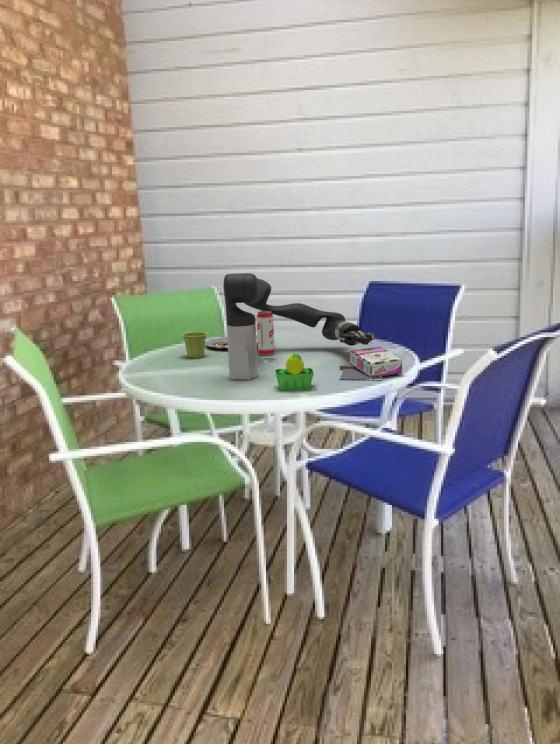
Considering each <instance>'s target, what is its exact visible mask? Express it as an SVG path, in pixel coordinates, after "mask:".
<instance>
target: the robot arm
mask: <svg viewBox="0 0 560 744" xmlns="http://www.w3.org/2000/svg"><path fill="white" fill-rule="evenodd" d="M222 286H223V294H224V295H223V297H224V304H225V305H224V307H225V317H226V319H225V320H226V332H227V333H226V337H227V339H228V348H227V355H228V356H227V358H228V369H229V371H228V372H229V378H230V380H235V381H236V380H243V381H245V380H252V379H255V378H257V377H258V376H259V370H258V368H259V367H258V365H259V364H258V345H257V344H256V336H257V320H256V316H255V314H253V313H252V312H248V311H246V310H243V309H241V308H240V307H239V306H237V304H242V303H243V304H244V305H246V306H248V307H250V308H252V309H255V310H258V311H271V313H272V315H273V316H278V317H281V318H286V319H289V320H293V321H295V322H298V323H300V324H303V325H305V326H308V327H310V328H316V327H317V326H318V324H319V323H320V321H321V320H322V319H325V321H324V324H323V326H322V330H321V334H322V336H323V337H324V339H327V340H329V341H337V340H338V341H339V342H340V343H343V344H345V345H347V346H351V347H352V346H356V345H358V344H361V345H362V346H363V345H364V346H365V345H366V346H367V345H369V344H370V342H373V340H375V337H374V336H375V332H373V331H370V332H368V333H367V332H364V331H363V330H362V328H361V327H360V326H358V325H357V324H354V323H352V322H350V321H346V317H345V316H344V315H343V314H341V313H339V312H335V311H324V310H321V309H317V308H316V307H315V308H314V307H312V306H309V305H307V304H304V303H301V302H299V303H298V302H297V303H289V304H281V305H272V304H268V303H267V302H268V300H269V297H270V296H271V292H272V286H271V284H270V283H269V282H267V281H265V280H264V279H261V278H258V277H257V276H256V275H255V274H254V273H252V272H251V273H250V272H246V273H244V272H242V273H227V274H225V275H224V277H223V285H222Z"/></svg>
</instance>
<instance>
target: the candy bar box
mask: <svg viewBox="0 0 560 744" xmlns="http://www.w3.org/2000/svg"><path fill="white" fill-rule="evenodd" d="M349 364H350V366H354V367H356V368H357V369H359V370H360V371H362V372H363V373H365V374H366V375H368V376H369V377H370V378H372V377H378V376H383V377H384V376H391V375H396V374H402V373H403V358H400V357H399V356H397V355H395V354H394V353H392V352H390V351H389V350H386V349H384V348H383V347H382V346H376V347H368V348H361V349H353V350H349Z"/></svg>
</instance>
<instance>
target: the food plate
mask: <svg viewBox="0 0 560 744" xmlns="http://www.w3.org/2000/svg"><path fill="white" fill-rule="evenodd" d="M216 344H218V345H216ZM256 344H257V346H258V339H257V335H256ZM215 345H216V346H215ZM205 346H207V347H213V348H216V349H218V350H222V349H223V348H225V349H226V350H228V339H227V336H220V337H216V338H211V339H209V340H206V341H205Z"/></svg>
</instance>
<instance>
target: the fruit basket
mask: <svg viewBox="0 0 560 744" xmlns="http://www.w3.org/2000/svg"><path fill="white" fill-rule="evenodd" d="M304 365H305V363H304V360H303V359H302V356H301V355H300V354H299V353H297V352H293V353H292V354H290V355H289V356H288V358H287V360H286V362H285V368H276V369H275V370H274V373H275V374H274V375H275V378H276V379H277V383H278V386H279V388H278V389H279V390H280V391H291V390H292V391H293V390H310V389H311V386H312V381H313V378H314V375H315V373H314V372H315V371H314V369H313V368H312V367H305V366H304Z"/></svg>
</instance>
